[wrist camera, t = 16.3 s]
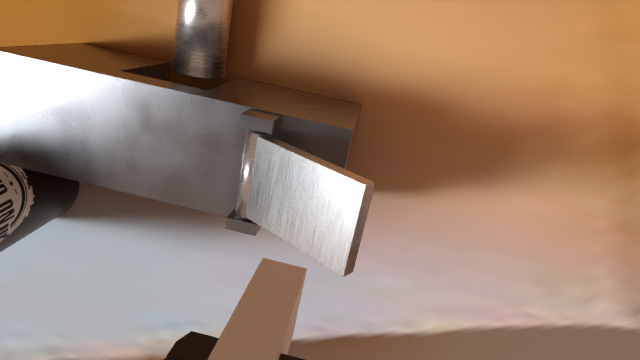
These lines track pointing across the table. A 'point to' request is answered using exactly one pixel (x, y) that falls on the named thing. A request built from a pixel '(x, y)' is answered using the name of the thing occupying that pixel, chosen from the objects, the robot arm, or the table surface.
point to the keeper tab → (304, 200)
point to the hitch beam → (153, 125)
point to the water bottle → (30, 201)
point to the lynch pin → (202, 37)
